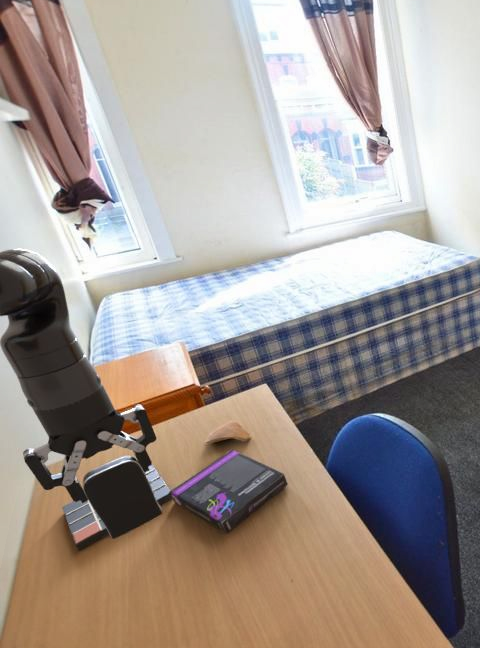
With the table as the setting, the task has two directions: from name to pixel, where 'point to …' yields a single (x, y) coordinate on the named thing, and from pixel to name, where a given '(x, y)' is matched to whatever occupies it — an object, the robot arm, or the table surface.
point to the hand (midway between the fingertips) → (115, 483)
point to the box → (229, 490)
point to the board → (90, 526)
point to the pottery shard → (228, 433)
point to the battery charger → (121, 495)
